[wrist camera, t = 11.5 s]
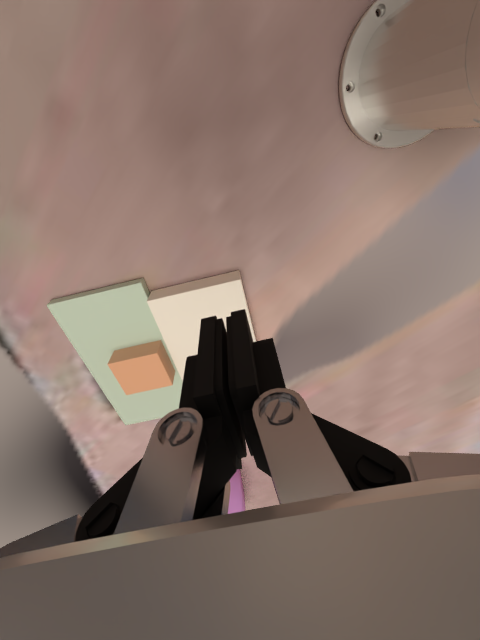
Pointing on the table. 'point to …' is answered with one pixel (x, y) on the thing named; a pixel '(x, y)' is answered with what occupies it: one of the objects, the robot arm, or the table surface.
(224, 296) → the plate
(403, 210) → the table surface
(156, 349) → the terracotta tile
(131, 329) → the sage mat
